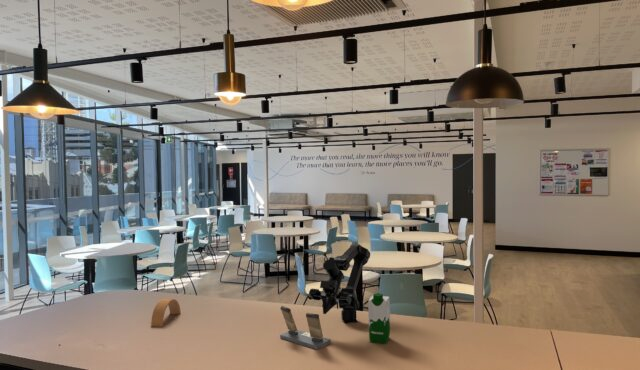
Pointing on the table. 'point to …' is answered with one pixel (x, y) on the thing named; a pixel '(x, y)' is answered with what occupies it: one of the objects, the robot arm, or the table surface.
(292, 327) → the lever
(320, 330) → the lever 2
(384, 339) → the milk carton
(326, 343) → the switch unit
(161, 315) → the arch
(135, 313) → the table surface
